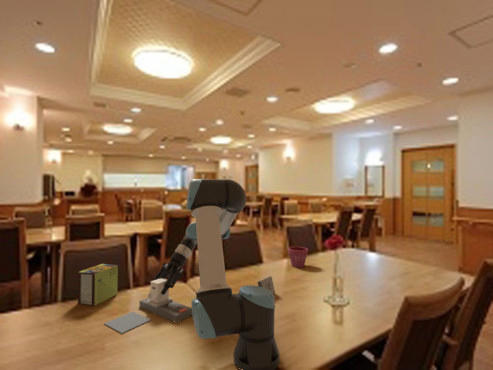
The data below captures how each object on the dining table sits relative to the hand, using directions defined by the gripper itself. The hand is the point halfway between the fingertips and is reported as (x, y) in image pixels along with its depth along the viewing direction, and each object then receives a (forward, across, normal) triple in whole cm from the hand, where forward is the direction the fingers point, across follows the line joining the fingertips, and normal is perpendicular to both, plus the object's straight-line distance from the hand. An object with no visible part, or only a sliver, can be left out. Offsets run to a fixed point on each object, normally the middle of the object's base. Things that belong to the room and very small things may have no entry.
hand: (152, 298), depth 124 cm
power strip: (+1, -4, -7) cm, 8 cm away
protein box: (+9, +35, +1) cm, 36 cm away
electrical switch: (-29, -32, -37) cm, 57 cm away
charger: (-1, 0, -5) cm, 5 cm away
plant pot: (-72, -24, -80) cm, 110 cm away
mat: (+13, 0, +5) cm, 14 cm away
